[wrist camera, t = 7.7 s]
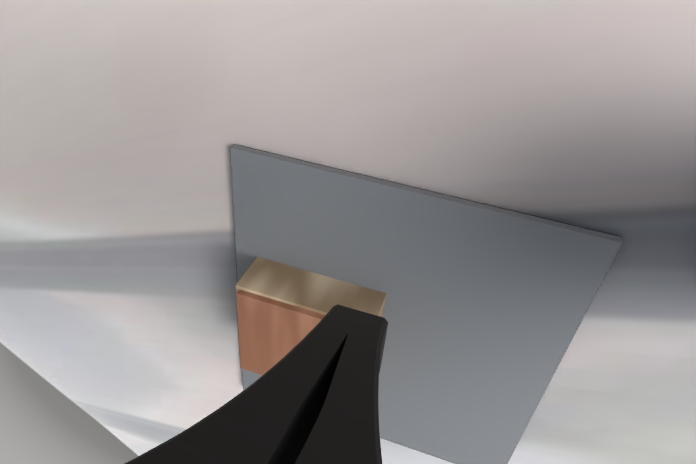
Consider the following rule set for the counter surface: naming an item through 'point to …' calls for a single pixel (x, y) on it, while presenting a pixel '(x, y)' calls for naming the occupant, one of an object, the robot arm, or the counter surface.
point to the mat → (431, 293)
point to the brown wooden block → (289, 309)
